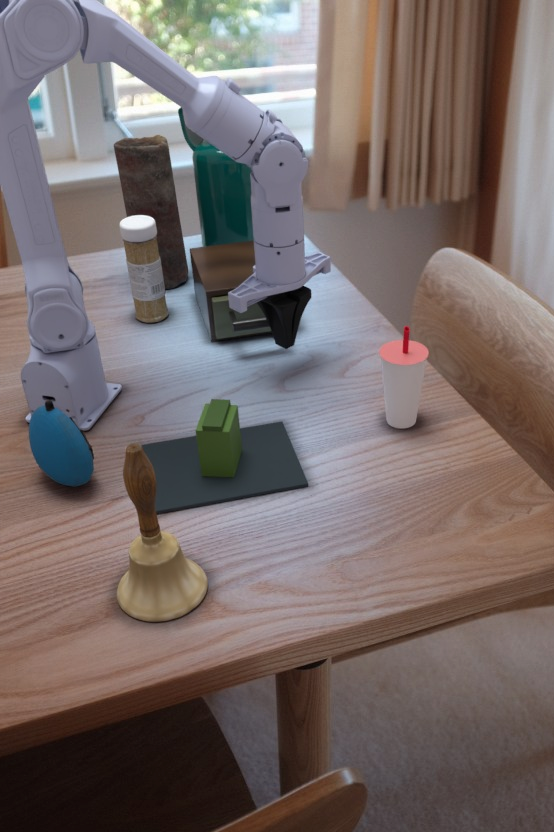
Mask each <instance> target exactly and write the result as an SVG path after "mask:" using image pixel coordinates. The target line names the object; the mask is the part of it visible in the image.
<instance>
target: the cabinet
mask: <svg viewBox="0 0 554 832" xmlns="http://www.w3.org/2000/svg"><path fill="white" fill-rule="evenodd" d="M189 256H190V264H191V273H192V280H193V281H192V282H193V289H194V296H195V300H196V302H197V305H198V307H199V310H200V314H201V317H202V320H203V322H204V324H205V327H206V330H207V333H208V335H209V339H210V341H211V342H218V341H226V340H232V339H238V338H239V339H240V338H245V337H253V336H259V335H266V334H272V331H269V332H262V333H255V334H248V335H242V336H235V337H228V338H221V339H217V338H216V335H215V327H214V318H213V309H212V300H211V298H213V297H212V296H220V295H227V294H228V292H230V291H232V290H234V289H236V288H237V287H238V286H240V285H241V284H242V283H243V282H244V281H245V280H247V279H248V278H249V277H250V276H251V275H252V274H253V273H254V272H253V266H254V265H255V251H254V241H246V242H238V243H230V244H222V245H214V246H206V247H202V246H198V247H191V248H189Z"/></svg>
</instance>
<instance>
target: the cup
mask: <svg viewBox="0 0 554 832" xmlns="http://www.w3.org/2000/svg"><path fill="white" fill-rule="evenodd" d="M410 331H411V328H410V327H409V326H408V325H405V326H404V327H403V338H402V339H396V340H391V341H389V342H385V343H384V344H382V345H381V346H380V348H379V350H378V353H379V356H380V365H381V366H380V367H381V377H382V389H383V399H384V410H385V420H386V423H387V425H389V426H390V427H392V428H394V429H402V430H404V429H409V428H412V427H413V426H414V425H416V423H417V418H418V413H419V412H418V411H419V409H420V403H421V402H420V401H421V395H422V389H423V384H424V378H425V371H426V365H427V360H428V357H429V354H430V353H429V349H428V347H427V346H425V345H424V344H423V343H421V342H419V341H415V340H410Z"/></svg>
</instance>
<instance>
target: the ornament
mask: <svg viewBox="0 0 554 832" xmlns="http://www.w3.org/2000/svg"><path fill="white" fill-rule="evenodd" d="M28 439H29V446H30V450H31V453H32V456H33V458H34V461H35V462H36V464H37V465H38V467H39V468H40V470H41V471H42V472H43V473H44V474H45V475H46V476H48V477H49V478H50V479H51V480H53V481H54V482H55V483H57V484H60V485H63V486H68V487H80V486H83V485H86V484H87V483H89V481H91V478H92V476H93V474H94V470H95V468H94V460H95V455H94V454H95V453H94V451H93V445H91V443H90V441H89V440H88V438H87V437H86V434H85V433H84V430H82V429H79V428H78V426H77V425H76V424H75V422H74V421H73V419H72V417H68V416H67V415H65V414H64V413H63V412H62V411H60V410H59V409H57V408H55V407H54V404H53V402H52V401H50V400H48V401H46V402H45V406H40V407H38V408H37V409H36V410H35V411H34V412H33V414H32V416H31V419H30V423H29V424H28Z"/></svg>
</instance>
